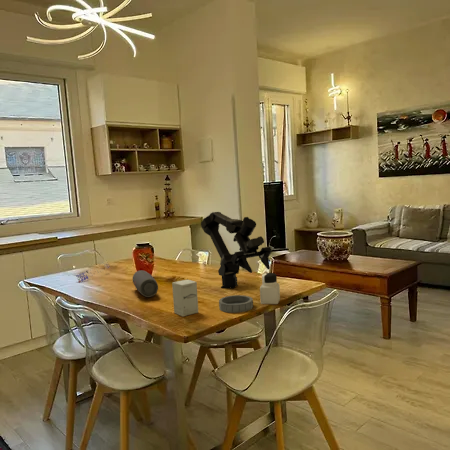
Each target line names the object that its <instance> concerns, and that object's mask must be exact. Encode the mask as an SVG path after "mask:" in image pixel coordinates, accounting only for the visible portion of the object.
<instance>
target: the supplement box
mask: <svg viewBox="0 0 450 450" xmlns="http://www.w3.org/2000/svg"><path fill="white" fill-rule="evenodd" d="M197 282H198V281H196V280H195V281H194V280H191V279H183V280H182V279H181V280H178V281H173V282H171V284H172V285H171V286H172V287H171V288H172V299H173V300H172V303H173V313H175V314H176V315H179V316H180V317H186V316H190V315H193V314H198V313H199V300H198V298H199V297H198V284H197Z"/></svg>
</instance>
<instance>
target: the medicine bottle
mask: <svg viewBox="0 0 450 450" xmlns="http://www.w3.org/2000/svg"><path fill="white" fill-rule="evenodd" d="M261 282H262V283H261V285H260V287H259V300H260V305H263V304H264V305H278V304H279V303H280V300H281V293H280V292H281V291H280V290H281V289H280V283H279V282H278V279H277V274H276V273H274V272H265V273H262V275H261Z"/></svg>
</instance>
